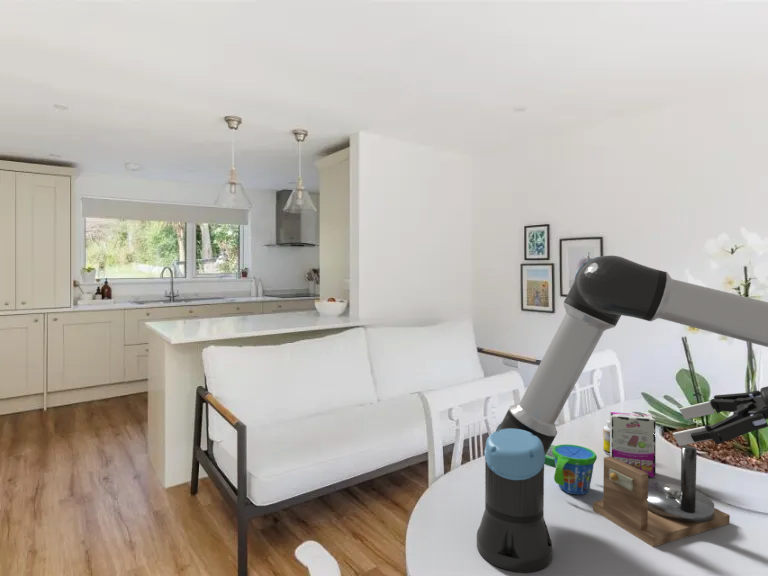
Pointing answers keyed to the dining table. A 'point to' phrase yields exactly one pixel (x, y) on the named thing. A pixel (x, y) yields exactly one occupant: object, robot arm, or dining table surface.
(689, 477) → the dial
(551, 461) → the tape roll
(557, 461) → the snack cup
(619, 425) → the candy bar box
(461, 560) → the dining table surface
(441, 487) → the dining table surface
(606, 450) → the supplement bottle
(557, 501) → the dining table surface
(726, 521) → the levelling stand
